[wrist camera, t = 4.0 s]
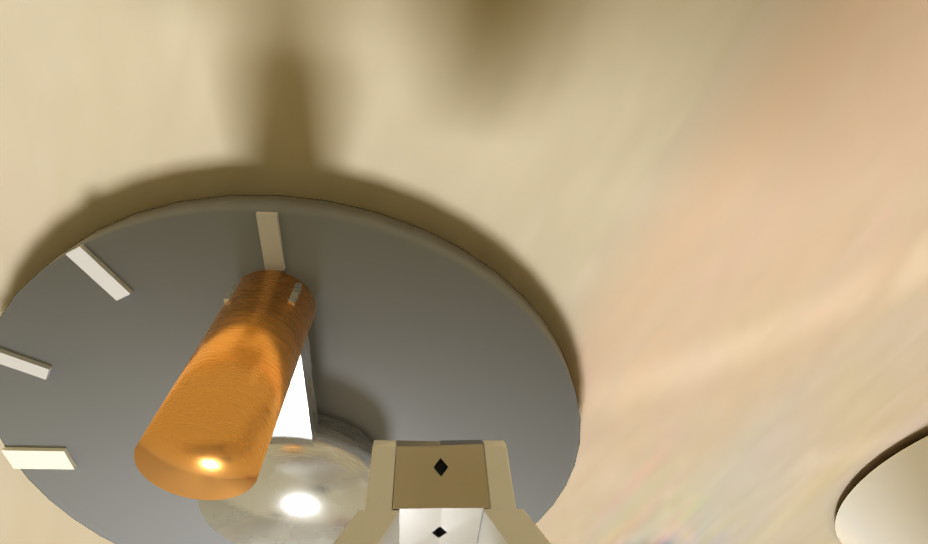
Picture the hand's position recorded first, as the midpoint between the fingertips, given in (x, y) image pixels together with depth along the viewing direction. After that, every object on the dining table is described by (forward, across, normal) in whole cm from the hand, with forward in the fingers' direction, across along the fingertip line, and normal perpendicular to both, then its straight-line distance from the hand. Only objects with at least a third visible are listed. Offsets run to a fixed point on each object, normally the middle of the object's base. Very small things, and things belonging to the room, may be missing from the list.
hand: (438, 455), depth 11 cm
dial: (+6, -5, -6) cm, 10 cm away
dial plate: (+8, -5, -9) cm, 13 cm away
